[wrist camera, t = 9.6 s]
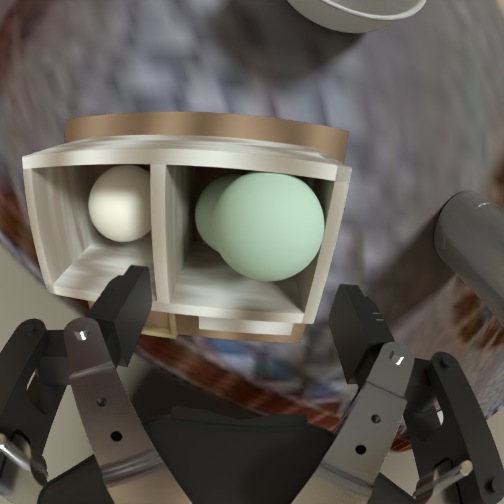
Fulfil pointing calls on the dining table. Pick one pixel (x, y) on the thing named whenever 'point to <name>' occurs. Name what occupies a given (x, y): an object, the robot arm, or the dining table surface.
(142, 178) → the cream ball
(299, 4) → the teacup
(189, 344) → the dining table surface
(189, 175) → the sorting board
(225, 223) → the sage ball
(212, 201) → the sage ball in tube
